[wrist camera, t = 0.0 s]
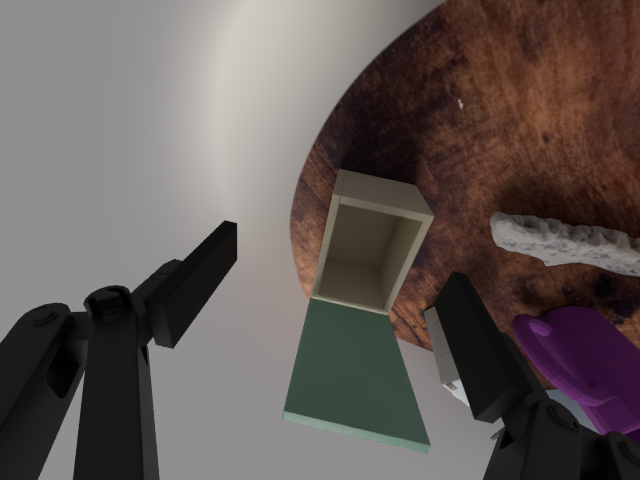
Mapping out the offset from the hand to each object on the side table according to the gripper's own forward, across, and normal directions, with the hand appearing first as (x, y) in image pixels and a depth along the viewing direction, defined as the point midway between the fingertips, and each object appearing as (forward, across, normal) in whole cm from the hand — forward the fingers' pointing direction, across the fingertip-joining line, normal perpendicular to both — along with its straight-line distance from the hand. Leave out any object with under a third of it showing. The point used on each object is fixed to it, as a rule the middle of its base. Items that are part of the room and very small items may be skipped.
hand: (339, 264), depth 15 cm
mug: (+18, +34, -15) cm, 42 cm away
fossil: (+18, +27, -2) cm, 33 cm away
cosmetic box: (+18, +20, -19) cm, 34 cm away
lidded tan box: (+18, +3, -6) cm, 20 cm away
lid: (+2, +3, -11) cm, 11 cm away
